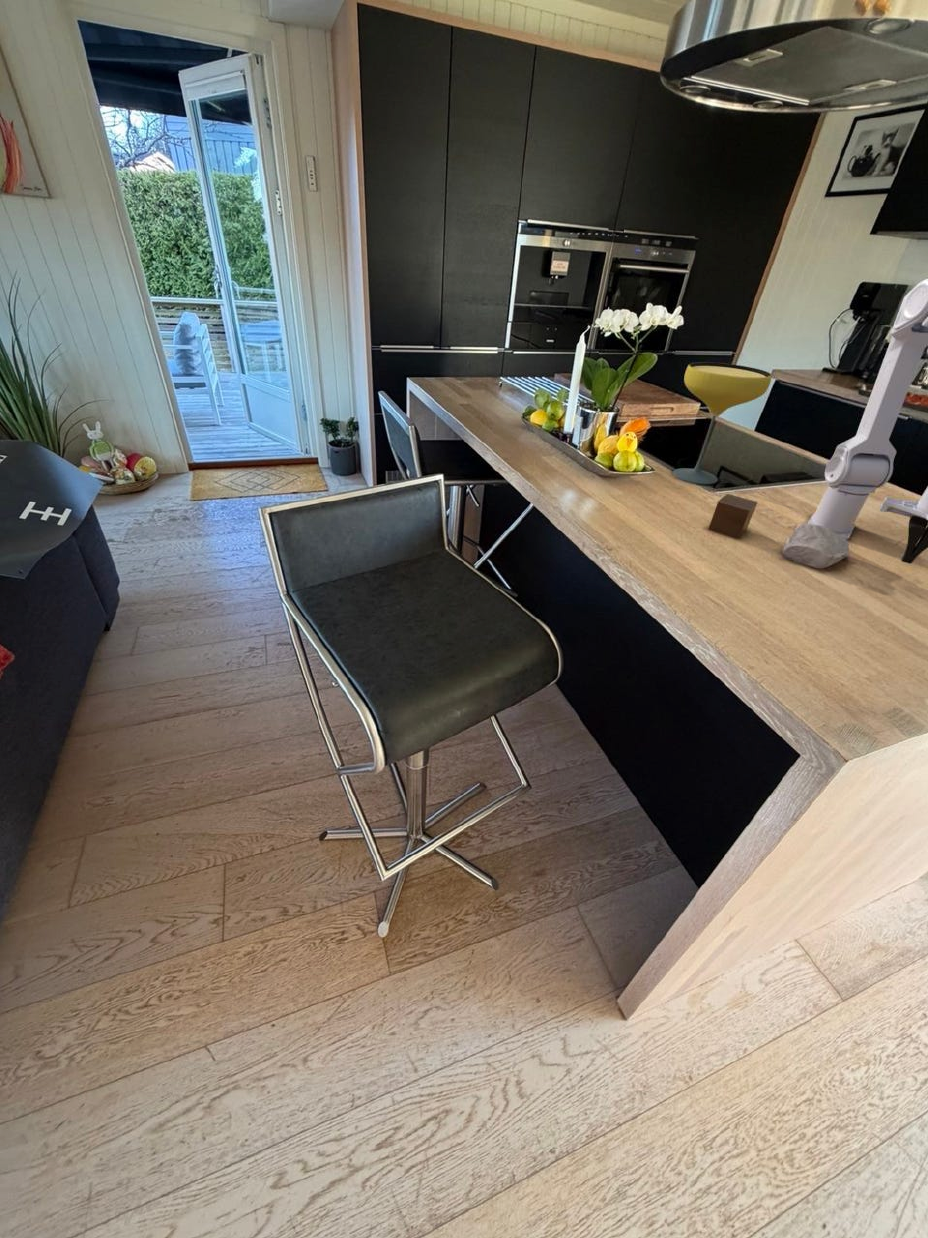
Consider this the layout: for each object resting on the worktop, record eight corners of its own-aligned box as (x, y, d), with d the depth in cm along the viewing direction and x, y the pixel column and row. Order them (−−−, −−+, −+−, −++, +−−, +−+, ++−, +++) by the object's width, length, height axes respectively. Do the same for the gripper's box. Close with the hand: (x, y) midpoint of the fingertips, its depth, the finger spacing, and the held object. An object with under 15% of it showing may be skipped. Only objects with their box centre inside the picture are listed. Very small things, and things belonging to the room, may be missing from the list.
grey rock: (839, 560, 102) (789, 534, 106) (856, 540, 99) (804, 515, 102) (827, 585, 95) (774, 556, 98) (845, 564, 91) (789, 536, 95)
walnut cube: (717, 520, 110) (727, 493, 107) (746, 529, 108) (757, 502, 104) (708, 529, 107) (718, 501, 103) (738, 538, 104) (749, 510, 100)
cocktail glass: (737, 474, 136) (775, 369, 121) (727, 496, 123) (769, 381, 108) (667, 459, 142) (695, 359, 128) (650, 478, 130) (680, 368, 115)
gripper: (896, 478, 84) (855, 554, 91) (1013, 505, 76) (958, 584, 84) (900, 468, 88) (860, 541, 96) (1011, 492, 81) (958, 569, 89)
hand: (906, 560), depth 90 cm, fingers closed
